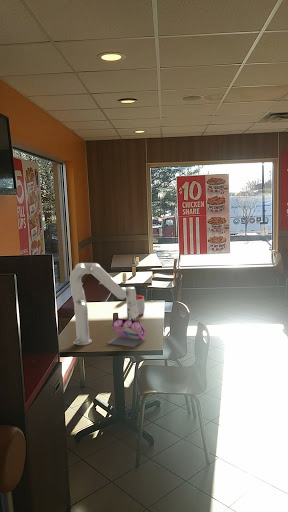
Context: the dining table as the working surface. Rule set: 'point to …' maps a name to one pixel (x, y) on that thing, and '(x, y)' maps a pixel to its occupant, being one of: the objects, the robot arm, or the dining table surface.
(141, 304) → the white red bucket
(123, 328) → the gum box
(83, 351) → the dining table surface
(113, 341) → the mat
